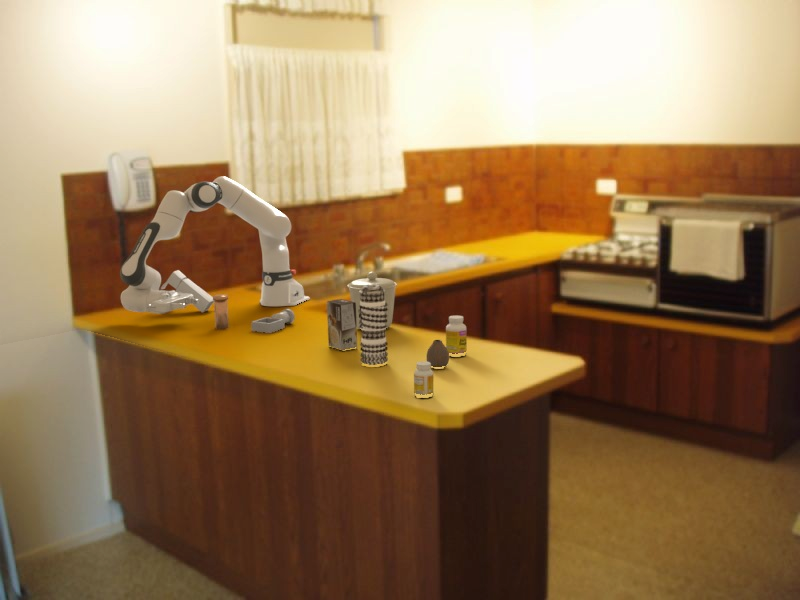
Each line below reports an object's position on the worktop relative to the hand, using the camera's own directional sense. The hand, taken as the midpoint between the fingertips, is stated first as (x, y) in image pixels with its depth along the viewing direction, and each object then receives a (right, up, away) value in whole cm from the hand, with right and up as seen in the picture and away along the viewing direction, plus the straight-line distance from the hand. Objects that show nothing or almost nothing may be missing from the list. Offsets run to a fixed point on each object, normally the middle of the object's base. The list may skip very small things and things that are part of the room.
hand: (191, 303), depth 353 cm
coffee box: (+59, -15, -37) cm, 72 cm away
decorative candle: (+71, -19, -59) cm, 94 cm away
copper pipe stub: (+12, -9, -2) cm, 15 cm away
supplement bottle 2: (+97, -17, -51) cm, 111 cm away
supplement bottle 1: (+85, -25, -94) cm, 130 cm away
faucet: (-8, -3, +30) cm, 31 cm away
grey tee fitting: (+32, -9, -4) cm, 34 cm away
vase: (+90, -20, -65) cm, 113 cm away
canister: (+69, -9, -9) cm, 70 cm away
